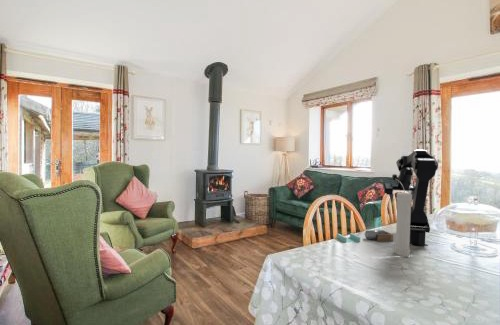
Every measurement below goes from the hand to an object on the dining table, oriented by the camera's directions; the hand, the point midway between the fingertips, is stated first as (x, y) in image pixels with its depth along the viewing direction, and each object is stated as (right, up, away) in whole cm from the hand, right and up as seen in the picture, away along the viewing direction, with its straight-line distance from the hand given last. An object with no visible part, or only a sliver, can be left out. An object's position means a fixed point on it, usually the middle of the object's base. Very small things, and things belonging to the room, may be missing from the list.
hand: (400, 201), depth 156 cm
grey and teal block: (-24, -14, -24) cm, 37 cm away
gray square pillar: (-22, -16, -43) cm, 51 cm away
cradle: (-37, -15, -26) cm, 48 cm away
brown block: (-22, -15, -24) cm, 36 cm away
